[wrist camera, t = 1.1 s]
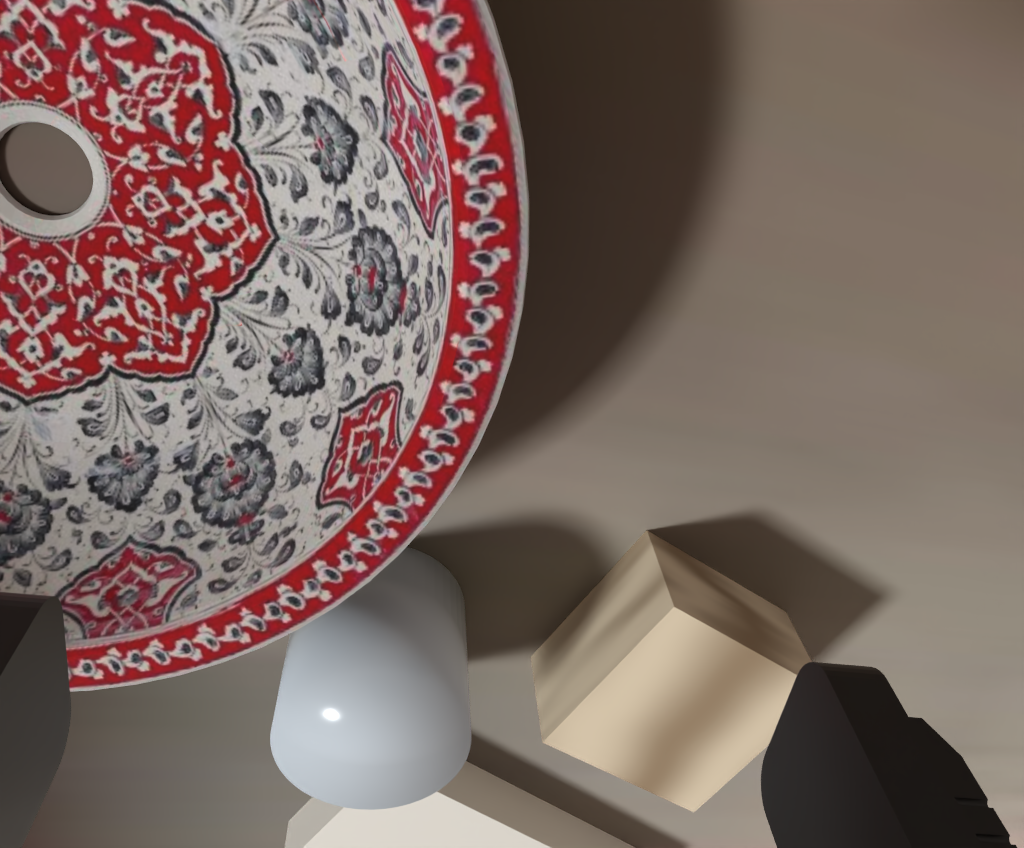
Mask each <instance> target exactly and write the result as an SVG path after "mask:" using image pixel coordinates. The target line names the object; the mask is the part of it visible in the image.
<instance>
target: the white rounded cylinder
mask: <svg viewBox="0 0 1024 848" xmlns="http://www.w3.org/2000/svg"><path fill="white" fill-rule="evenodd" d="M270 744H271V750H272V754H273V757H274V759H275V762H276V764H277V765H278V767H279V769H280V770H281V772H282V773H283V774H284V775H285V777H286V778H287V779H288V780H289V781H290V782H291V783H292V784H293V785H295V786H296V787H297V788H299V789H300V790H301V791H303V792H305V793H306V794H308V795H310V796H312V797H314V798H316V799H318V800H321V801H323V802H326V803H329V804H332V805H336V806H341V807H345V808H352V809H366V810H375V809H387V808H394V807H399V806H403V805H407V804H411V803H413V802H416V801H419V800H421V799H424V798H426V797H428V796H430V795H432V794H433V793H435V792H437V791H438V790H440V789H441V788H443V787H444V786H445V785H447V784H448V783H449V782H450V781H451V780H452V779H453V778H454V777H455V776H456V775H457V774H458V772H459V771H460V770H461V768H462V767H463V765H464V763H465V761H466V760H467V757H468V754H469V751H470V747H471V718H470V698H469V678H468V659H467V639H466V619H465V603H464V597H463V594H462V591H461V588H460V586H459V584H458V582H457V581H456V579H455V578H454V576H453V575H452V574H451V572H450V571H449V570H448V569H447V568H446V567H445V566H444V565H442V564H441V563H440V562H438V561H437V560H436V559H434V558H433V557H431V556H429V555H427V554H425V553H423V552H421V551H418V550H416V549H413V548H409V547H406V548H405V549H404V550H403V551H402V552H401V553H400V554H399V555H398V556H397V557H396V558H395V559H394V560H393V561H392V562H391V563H389V564H388V565H387V566H386V567H385V568H384V569H383V570H382V571H381V572H380V573H378V574H377V575H376V576H375V577H374V578H373V579H372V580H371V581H370V582H368V583H367V584H366V585H364V586H363V587H362V588H360V589H359V590H358V591H356V592H355V593H354V594H352V595H351V596H350V597H348V598H347V599H346V600H344V601H343V602H342V603H340V604H339V605H337V606H336V607H335V608H333V609H331V610H330V611H328V612H326V613H325V614H323V615H321V616H320V617H318V618H317V619H315V620H313V621H312V622H310V623H308V624H307V625H305V626H303V627H302V628H300V629H298V630H296V631H294V632H292V633H290V636H289V642H288V647H287V652H286V657H285V662H284V667H283V672H282V677H281V683H280V688H279V693H278V698H277V703H276V708H275V713H274V718H273V723H272V729H271V736H270Z"/></svg>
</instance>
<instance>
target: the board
mask: <svg viewBox="0 0 1024 848" xmlns="http://www.w3.org/2000/svg"><path fill="white" fill-rule="evenodd" d="M285 848H635V847H633V846H631V845H629V844H628V843H626V842H624V841H622V840H620V839H618V838H616V837H614V836H612V835H610V834H608V833H606V832H604V831H602V830H600V829H598V828H596V827H594V826H592V825H590V824H588V823H586V822H584V821H582V820H581V819H579V818H577V817H575V816H573V815H571V814H569V813H567V812H565V811H563V810H561V809H559V808H557V807H555V806H553V805H551V804H549V803H547V802H545V801H543V800H541V799H539V798H537V797H535V796H534V795H532V794H530V793H528V792H526V791H524V790H522V789H520V788H518V787H516V786H514V785H512V784H510V783H508V782H506V781H504V780H502V779H500V778H498V777H496V776H494V775H492V774H490V773H488V772H487V771H485V770H483V769H481V768H479V767H477V766H475V765H473V764H471V763H469V762H467V761H465V763H464V765H463V767H462V768H461V770H460V771H459V772H458V774H457V775H456V776H455V777H454V778H453V779H452V780H451V781H450V782H449V783H448V784H447V785H445V786H444V787H443V788H441V789H440V790H438V791H437V792H435V793H433V794H432V795H430V796H428V797H426V798H424V799H421V800H419V801H416V802H413V803H411V804H407V805H403V806H399V807H394V808H387V809H375V810H366V809H352V808H345V807H341V806H336V805H332V804H329V803H326V802H323V801H321V800H318V799H316V798H314V797H312V798H311V799H310V800H309V801H308V802H307V803H306V804H305V805H304V806H303V807H302V808H301V809H300V810H299V811H298V812H297V813H296V814H295V815H294V816H293V817H292V818H291V819H290V820H289V823H288V830H287V836H286V842H285Z"/></svg>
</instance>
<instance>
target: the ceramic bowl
mask: <svg viewBox="0 0 1024 848" xmlns="http://www.w3.org/2000/svg"><path fill="white" fill-rule="evenodd" d="M27 122H41V123H46V124H50V125H52V126H54V127H56V128H59V129H60V130H62V131H63V132H65V133H66V134H68V135H69V136H70V137H72V138H73V139H74V140H75V141H76V142H77V143H78V144H79V146H80V147H81V148H82V150H83V151H84V152H85V154H86V156H87V158H88V160H89V162H90V165H91V168H92V173H93V187H92V191H91V194H90V196H89V198H88V199H87V201H86V202H85V203H84V204H83V205H82V206H81V207H80V208H79V209H77V210H76V211H73V212H71V213H69V214H65V215H59V216H50V215H44V214H40V213H37V212H34V211H31V210H30V209H28V208H26V207H24V206H22V205H21V204H20V203H19V202H17V201H16V200H15V199H14V198H13V197H12V196H11V195H10V194H9V193H8V192H7V190H6V189H5V187H4V186H3V185H2V183H1V180H0V592H9V593H21V594H33V595H45V596H55V597H57V598H58V599H59V600H60V602H61V605H62V609H63V618H64V629H65V641H66V652H67V664H68V675H69V687H70V691H88V690H97V689H105V688H112V687H120V686H128V685H135V684H140V683H145V682H150V681H155V680H159V679H164V678H169V677H174V676H179V675H182V674H186V673H189V672H192V671H196V670H199V669H203V668H206V667H209V666H213V665H216V664H220V663H223V662H225V661H228V660H230V659H233V658H236V657H238V656H241V655H243V654H246V653H248V652H251V651H254V650H256V649H259V648H261V647H263V646H265V645H268V644H270V643H272V642H274V641H276V640H278V639H280V638H282V637H284V636H286V635H288V634H290V633H292V632H294V631H296V630H298V629H300V628H302V627H303V626H305V625H307V624H308V623H310V622H312V621H313V620H315V619H317V618H318V617H320V616H321V615H323V614H325V613H326V612H328V611H330V610H331V609H333V608H335V607H336V606H337V605H339V604H340V603H342V602H343V601H344V600H346V599H347V598H348V597H350V596H351V595H352V594H354V593H355V592H356V591H358V590H359V589H360V588H362V587H363V586H364V585H366V584H367V583H368V582H370V581H371V580H372V579H373V578H374V577H375V576H376V575H377V574H378V573H380V572H381V571H382V570H383V569H384V568H385V567H386V566H387V565H388V564H389V563H391V562H392V561H393V560H394V559H395V558H396V557H397V556H398V555H399V554H400V553H401V552H402V551H403V550H404V549H405V548H406V547H407V546H408V545H409V544H410V542H411V541H412V540H413V539H414V538H415V537H416V536H417V535H418V534H419V532H420V531H421V530H422V529H423V528H424V527H425V526H426V525H427V524H428V522H429V521H430V520H431V519H432V517H433V516H434V514H435V513H436V512H437V510H438V509H439V508H440V506H441V505H442V504H443V502H444V501H445V499H446V498H447V497H448V495H449V494H450V493H451V491H452V490H453V488H454V487H455V486H456V484H457V482H458V480H459V479H460V477H461V475H462V474H463V472H464V470H465V468H466V467H467V465H468V463H469V461H470V460H471V458H472V456H473V455H474V453H475V451H476V449H477V448H478V446H479V444H480V441H481V439H482V437H483V435H484V432H485V430H486V428H487V426H488V423H489V421H490V419H491V417H492V414H493V412H494V410H495V408H496V405H497V403H498V401H499V398H500V394H501V391H502V388H503V385H504V382H505V379H506V376H507V373H508V370H509V367H510V364H511V361H512V358H513V353H514V349H515V344H516V339H517V335H518V330H519V325H520V321H521V316H522V311H523V306H524V296H525V287H526V278H527V269H528V259H529V192H528V181H527V170H526V159H525V148H524V140H523V135H522V129H521V124H520V119H519V114H518V108H517V103H516V98H515V93H514V87H513V82H512V78H511V75H510V72H509V68H508V65H507V61H506V58H505V54H504V51H503V47H502V44H501V40H500V37H499V34H498V30H497V27H496V23H495V20H494V17H493V14H492V12H491V9H490V7H489V4H488V2H487V0H0V139H1V138H2V137H3V135H4V134H5V133H6V132H7V131H9V130H10V129H11V128H13V127H15V126H17V125H19V124H23V123H27Z"/></svg>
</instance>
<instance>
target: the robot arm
mask: <svg viewBox="0 0 1024 848" xmlns="http://www.w3.org/2000/svg"><path fill="white" fill-rule="evenodd" d="M70 717H71V698H70V687H69V675H68V664H67V652H66V641H65V629H64V618H63V609H62V605H61V602H60V600H59V599H58V598H57V597H55V596H45V595H33V594H21V593H9V592H0V848H21V847H22V845H23V843H24V841H25V839H26V837H27V834H28V832H29V830H30V828H31V826H32V824H33V821H34V819H35V817H36V815H37V813H38V811H39V808H40V806H41V804H42V802H43V800H44V798H45V795H46V793H47V791H48V789H49V787H50V784H51V782H52V780H53V778H54V776H55V774H56V771H57V769H58V767H59V764H60V762H61V759H62V756H63V753H64V749H65V746H66V742H67V737H68V732H69V726H70ZM761 791H762V800H763V806H764V810H765V814H766V817H767V820H768V823H769V825H770V828H771V831H772V834H773V837H774V840H775V842H776V845H777V848H1017V847H1016V845H1011V844H1010V842H1009V836H1010V835H1009V834H1008V832H1007V830H1006V829H1005V827H1004V825H1003V824H1002V822H1001V820H1000V819H999V817H998V815H997V814H996V812H995V811H994V809H993V808H989V807H988V805H987V800H988V799H987V797H986V796H985V794H984V792H983V791H982V789H981V788H980V786H979V784H978V783H977V781H976V779H975V778H974V776H973V774H972V773H971V771H970V769H969V768H968V766H967V765H966V763H965V761H964V760H963V758H962V756H961V755H960V754H959V753H958V752H956V751H955V750H954V749H953V748H952V747H951V746H950V745H949V744H948V743H947V742H946V741H945V740H944V739H943V738H942V737H941V736H940V735H939V734H938V733H937V732H936V731H935V730H934V729H933V728H931V727H930V726H929V725H928V724H927V723H926V722H925V721H924V720H923V719H922V718H913V717H908V715H907V714H906V712H905V710H904V708H903V707H902V705H901V703H900V701H899V700H898V698H897V696H896V694H895V693H894V691H893V689H892V687H891V686H890V684H889V682H888V680H887V679H886V677H885V676H884V675H883V674H882V673H881V672H880V671H879V670H878V669H876V668H873V667H866V666H854V665H842V664H830V663H818V662H809V663H807V664H805V665H804V666H803V667H802V668H801V669H800V671H799V673H798V675H797V677H796V679H795V682H794V684H793V687H792V689H791V692H790V694H789V697H788V699H787V701H786V704H785V706H784V709H783V711H782V714H781V716H780V719H779V721H778V724H777V726H776V729H775V731H774V734H773V736H772V738H771V741H770V743H769V746H768V748H767V751H766V754H765V756H764V760H763V765H762V773H761Z"/></svg>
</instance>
